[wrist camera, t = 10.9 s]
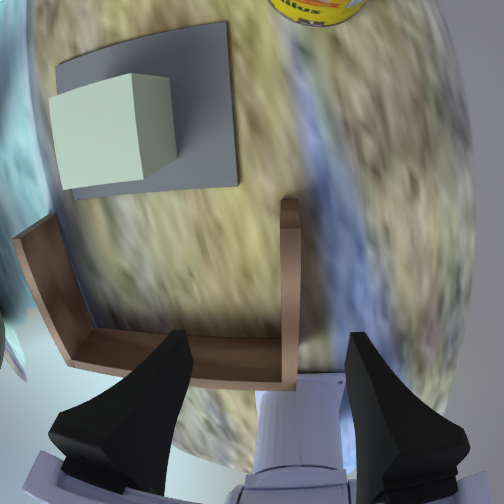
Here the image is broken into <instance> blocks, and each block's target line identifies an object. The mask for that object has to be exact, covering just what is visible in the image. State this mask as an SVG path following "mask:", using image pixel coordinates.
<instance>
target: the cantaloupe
mask: <svg viewBox="0 0 504 504" xmlns="http://www.w3.org/2000/svg"><path fill="white" fill-rule="evenodd" d="M4 350H5V326H4V321H3V317H2V314H1V312H0V369H1V366H2V361H3V356H4Z"/></svg>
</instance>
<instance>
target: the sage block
mask: <svg viewBox="0 0 504 504" xmlns="http://www.w3.org/2000/svg"><path fill="white" fill-rule="evenodd" d="M49 107H50V116H51V124H52V132H53V139H54V145H55V152H56V158H57V163H58V169H59V174H60V179H61V184H62V188H63V190H66V189H73V188H79V187H86V186H93V185H101V184H109V183H117V182H125V181H134V180H143V179H145V178H147V177H148V176H150V175H151V174H153V173H155V172H156V171H158V170H159V169H161V168H163V167H164V166H166V165H168V164H169V163H171V162H173V161H174V160H176V159H178V158H177V150H176V141H175V131H174V122H173V112H172V101H171V89H170V78H167V77H160V76H153V75H145V74H136V73H129V74H125V75H121V76H117V77H113V78H110V79H106V80H103V81H99V82H96V83H93V84H89V85H86V86H83V87H80V88H77V89H74V90H71V91H68V92H65V93H62V94H60V95H57V96H54V97H51V98H49Z"/></svg>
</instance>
